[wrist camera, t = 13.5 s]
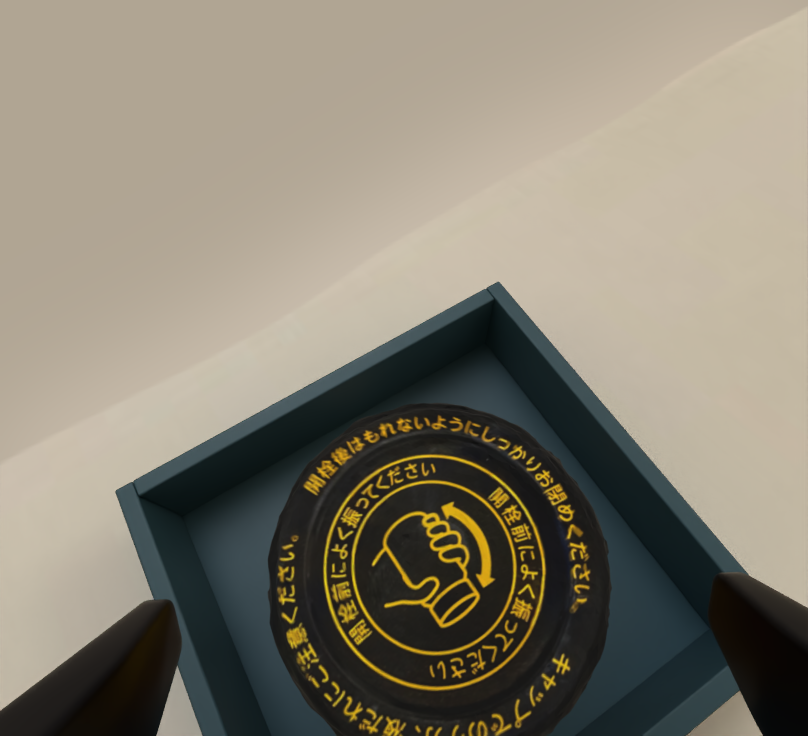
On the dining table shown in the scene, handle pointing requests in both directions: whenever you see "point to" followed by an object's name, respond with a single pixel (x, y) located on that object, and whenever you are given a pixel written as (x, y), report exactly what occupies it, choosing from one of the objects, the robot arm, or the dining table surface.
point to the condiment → (438, 579)
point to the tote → (386, 390)
